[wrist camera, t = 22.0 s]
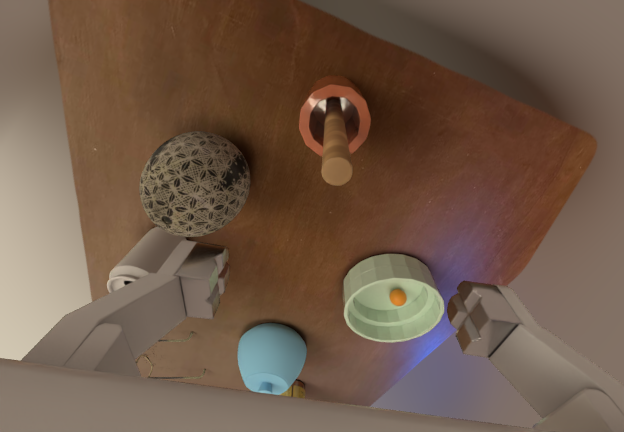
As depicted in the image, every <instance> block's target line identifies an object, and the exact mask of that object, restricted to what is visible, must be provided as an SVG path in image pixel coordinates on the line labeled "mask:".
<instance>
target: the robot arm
mask: <svg viewBox="0 0 624 432" xmlns="http://www.w3.org/2000/svg"><path fill="white" fill-rule="evenodd" d="M228 258H229V248H228V247H226V246H220V245H214V244H208V243H202V242H194V241H188V240H183V241H181V242H180V243H179V244H178V245H177V247H176V248H175V249H174V251H173V252H172V253H171V255H170V256H169V257H168V259H167V260H166V261H165V263H164V264H163V265H162V266H161V268H160V269H159V270H158V272H157V273H150V274H148V275H146V276H144V277H142V278H140V279H138V280H136V281H134V282H132V283H130V284H128V285H126V286H124V287H122V288H120V289H118V290H116V291H114V292H112V293H109V294H107V295H105V296H103V297H101V298H99V299H97V300H95V301H93V302H91V303H89V304H87V305H85V306H83V307H81V308H79V309H77V310H75V311H73V312H71V313H69V314H67V315H65V316H64V317H63V318H62V319H61V320H60V321H59V322H58V323H57V324H56V325H55V326H54V327H53V328H52V329H51V330H50V331H49V332H48V333H47V334H46V335H45V337H43V338H42V339H41V340H40V342H38V344H37V345H36V346H35V347H34V348H33V349H32V350H31V351H30V352H29V353H28V354H27V355H26V356H25V357H24V358H23V359H22V360H21V361H18V360H11V359H2V358H0V432H624V384H622V383H621V382H620V381H618V380H617V379H615V378H614V377H612V376H611V375H610V374H608V373H607V372H606V371H604V370H603V369H601V368H600V367H599V366H597V365H596V364H594V363H593V362H592V361H590V360H589V359H587V358H586V357H585V356H583V355H582V354H581V353H579V352H578V351H576V350H575V349H574V348H572V347H571V346H569V345H568V344H567V343H565V342H564V341H562V340H561V339H560V338H558V337H557V336H556V335H554V334H553V333H551V332H550V331H548V330H547V329H546V328H542V327H540V326H539V325H538V323H537V322H536V321H535V319H534V318H533V317H532V315H531V314H530V312H529V311H528V310H527V308H526V307H525V306H524V304H523V303H522V302H521V300H520V299H519V298H518V296H517V295H516V293H515V292H514V291H513V289H511V288H510V287H508V286H502V285H494V284H493V285H491V284H485V283H478V282H470V281H463V282H461V283H460V284H459V286H458V287H457V290H458V294H456V295H454V296H452V297H451V299H450V301H449V302H448V307H447V313H448V318H449V321H450V323H451V324H452V325H453V326H454V327H455V328H456V329H457V333H456V337H457V340H458V342H459V344H460V347H461V349H462V351H463V354H467V355H474V356H480V357H486V358H489V360H490V361H491V363H492V364H493V365H494V366H495V367H496V368H497V369H498V370H499V371H500V372H501V374H502V375H503V376H504V377H505V378H506V379H507V380H508V381H509V382H510V383H511V384H512V386H513V387H514V388H515V389H516V390H517V391H518V392H519V393H520V394H521V395H522V396H523V398H524V399H525V400H526V401H527V402H528V403H529V404H530V405H531V406H532V407H533V409H534V410H535V411H536V412H537V413H538V414H539V415H540V416H541V417H542V418H543V419H542V420H541V421H539V422H538V423H536V424H535V425H534V426H533V428H524V427H517V426H509V425H502V424H494V423H486V422H479V421H472V420H464V419H456V418H449V417H441V416H434V415H426V414H419V413H411V412H404V411H396V410H388V409H381V408H374V407H366V406H358V405H351V404H343V403H335V402H328V401H320V400H313V399H305V398H297V397H290V396H282V395H275V394H267V393H260V392H252V391H244V390H237V389H229V388H222V387H214V386H207V385H199V384H191V383H184V382H176V381H169V380H161V379H154V378H146V377H141V374H140V371H139V369H138V366H137V364H136V361H135V359H136V358H138V357H139V356H140V355H141V354H143V353H144V352H145V351H146V350H148V349H149V348H150V347H151V346H152V345H154V344H155V343H156V342H157V341H159V340H160V339H161V338H162V337H164V336H165V335H166V334H167V333H168V332H170V331H171V330H172V329H173V328H175V327H176V326H177V325H178V324H180V323H181V322H182V321H183V320H185V319H186V316H187V317H196V318H205V319H213V318H214V315H215V313H216V311H217V308H218V306H219V304H220V295H221V294H222V293H224V292H225V290H226V287H227V284H228V280H229V276H230V265H229V264H228V263H227V260H228Z"/></svg>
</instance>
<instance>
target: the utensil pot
mask: <svg viewBox="0 0 624 432" xmlns="http://www.w3.org/2000/svg"><path fill="white" fill-rule="evenodd" d="M332 99H336V100H338V101H339V102H340V103H341V106H342V112H343V117H344V123H345V128H346V134H347V140H348V145H349V151H350V154H351V153H354V152H355V151H356V150H357V149H358V148H359V147H360V145H361V144H362V143H363V142H364V141H365V140H366V139H367V136H368V132H369V127H370V123H371V117H370V113H369V110H368V106H367V103H366V101H365V99H364V97H363V95H362V94H361V92H360V90H359V89H358V87H357V86H356V85H354V84H353V82H351V81H350V80H349V79H348V78H346V77H342V76H338V75H330V76H327V77H324V78H322V79H320V80H318V81H317V82H315V84H314V85H313V87H312V88H311V89H310V91H309V92H308V94H307V96H306V98H305V101H304V103H303V105H302V108H301V111H300V121H299V130H300V132H301V135H302V137H303V139H304V142H305V144H306V145H307V146H308V147H309V148H310V149H312V150H313V151H314V152H316V153H317V154H318V155H320V156H323V141H324V125H325V110H326V104H327V102H328V101H330V100H332Z"/></svg>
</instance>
